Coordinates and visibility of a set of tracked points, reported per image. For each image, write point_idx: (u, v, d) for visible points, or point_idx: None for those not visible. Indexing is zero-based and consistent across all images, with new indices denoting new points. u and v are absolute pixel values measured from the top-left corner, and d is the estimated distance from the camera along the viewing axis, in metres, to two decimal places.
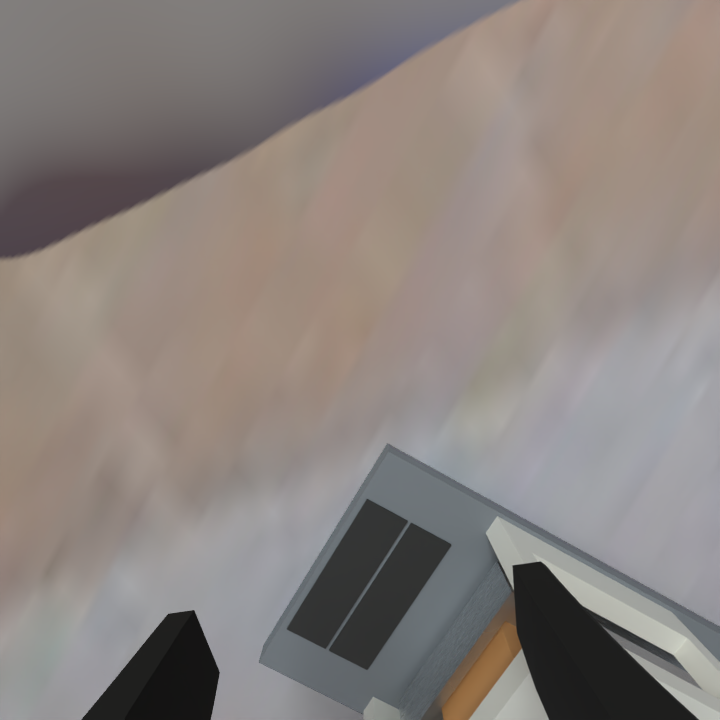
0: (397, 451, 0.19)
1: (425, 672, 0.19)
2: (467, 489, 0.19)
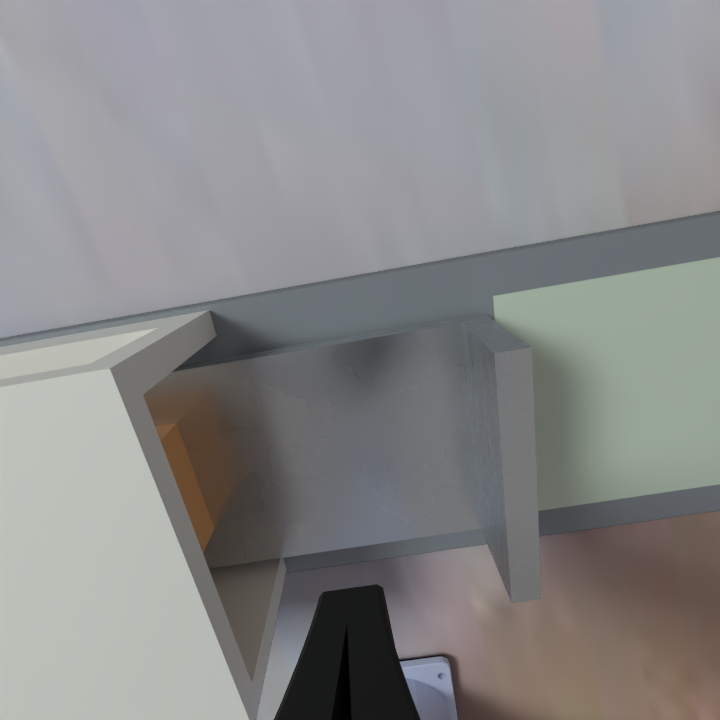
0: None
1: None
2: None
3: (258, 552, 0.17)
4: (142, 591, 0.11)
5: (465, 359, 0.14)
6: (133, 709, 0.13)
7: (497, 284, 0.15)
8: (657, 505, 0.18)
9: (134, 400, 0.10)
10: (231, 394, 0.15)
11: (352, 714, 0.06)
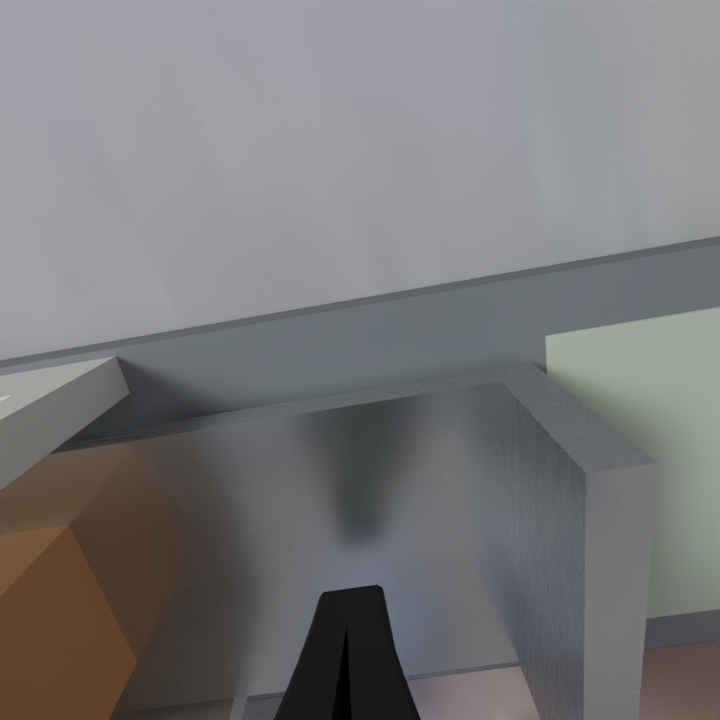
0: None
1: None
2: None
3: (202, 691, 0.12)
4: None
5: (505, 435, 0.09)
6: None
7: (553, 318, 0.10)
8: None
9: None
10: (148, 485, 0.10)
11: (352, 714, 0.06)
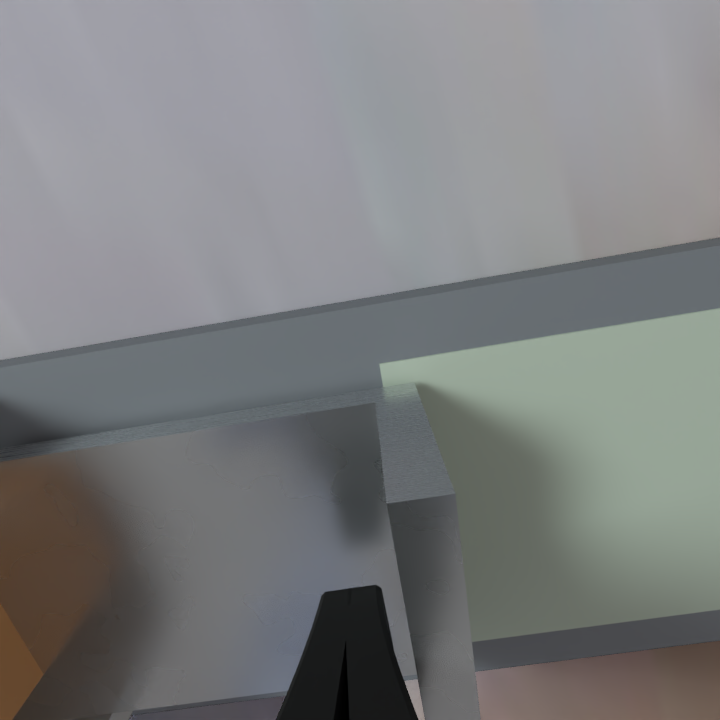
0: None
1: None
2: None
3: (111, 702, 0.12)
4: None
5: None
6: None
7: (384, 347, 0.10)
8: (630, 635, 0.13)
9: None
10: (37, 502, 0.10)
11: (354, 714, 0.06)
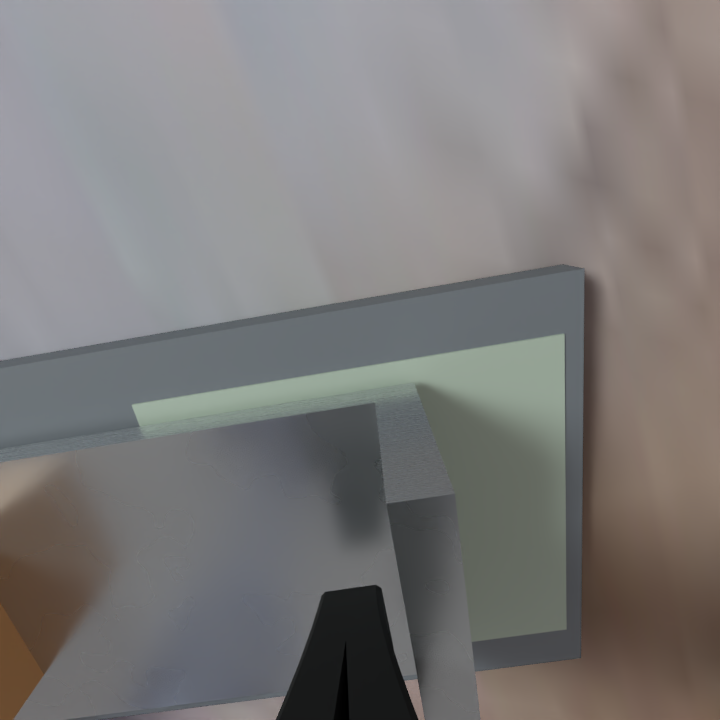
0: None
1: None
2: None
3: (111, 703, 0.12)
4: None
5: None
6: None
7: (134, 388, 0.10)
8: None
9: None
10: (37, 502, 0.10)
11: (354, 714, 0.06)
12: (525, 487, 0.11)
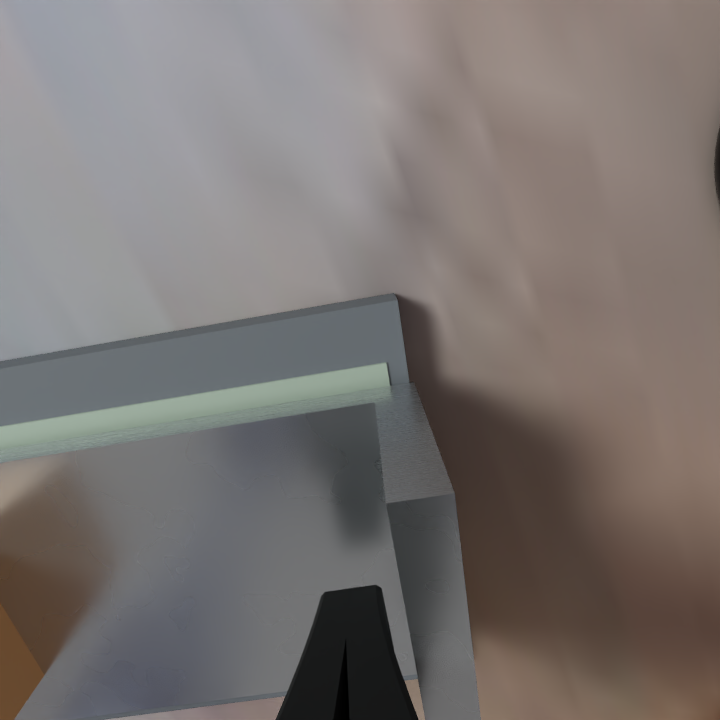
0: None
1: None
2: None
3: (112, 703, 0.12)
4: None
5: None
6: None
7: None
8: None
9: None
10: (37, 502, 0.10)
11: (354, 714, 0.06)
12: None
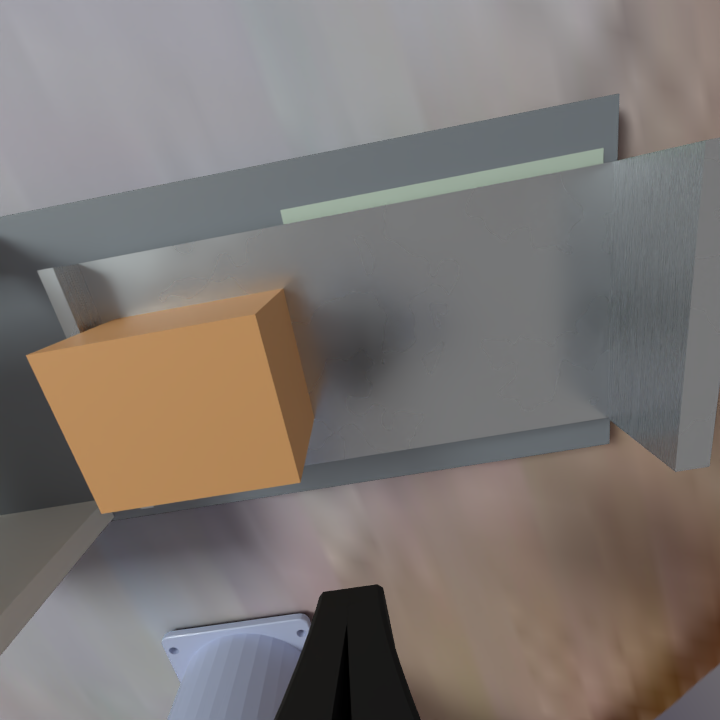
0: None
1: None
2: None
3: (360, 446, 0.16)
4: None
5: (613, 206, 0.13)
6: None
7: (283, 197, 0.14)
8: (494, 445, 0.17)
9: None
10: (346, 252, 0.13)
11: (352, 714, 0.06)
12: None
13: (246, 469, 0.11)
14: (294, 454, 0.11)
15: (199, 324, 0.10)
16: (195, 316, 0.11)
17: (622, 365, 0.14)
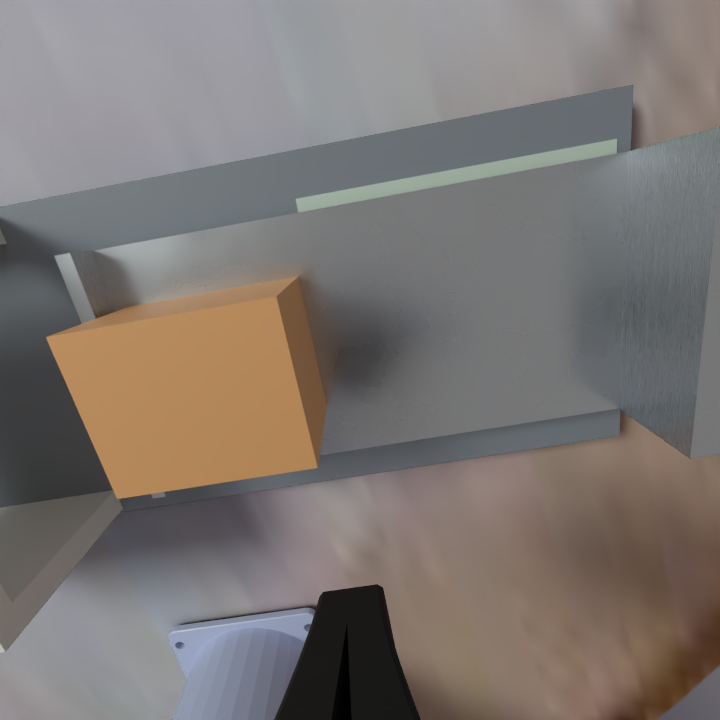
0: None
1: None
2: None
3: (372, 436, 0.16)
4: None
5: (628, 196, 0.13)
6: None
7: (298, 185, 0.14)
8: (504, 437, 0.17)
9: None
10: (362, 240, 0.13)
11: (352, 714, 0.06)
12: None
13: (263, 454, 0.11)
14: (311, 439, 0.11)
15: (220, 306, 0.10)
16: (214, 301, 0.11)
17: (635, 355, 0.14)
